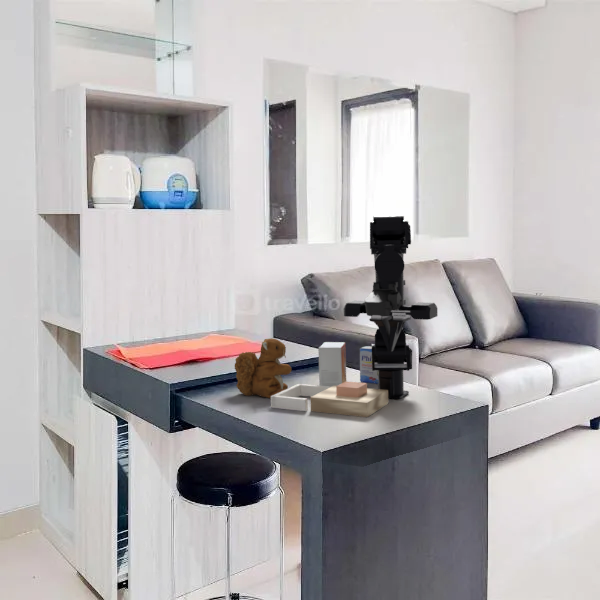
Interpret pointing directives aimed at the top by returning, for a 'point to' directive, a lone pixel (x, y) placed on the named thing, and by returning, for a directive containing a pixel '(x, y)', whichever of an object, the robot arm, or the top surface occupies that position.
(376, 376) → the medicine box
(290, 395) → the box
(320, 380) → the small box
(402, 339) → the robot arm
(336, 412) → the plate
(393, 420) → the top surface
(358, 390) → the tile
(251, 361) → the stuffed squirrel
